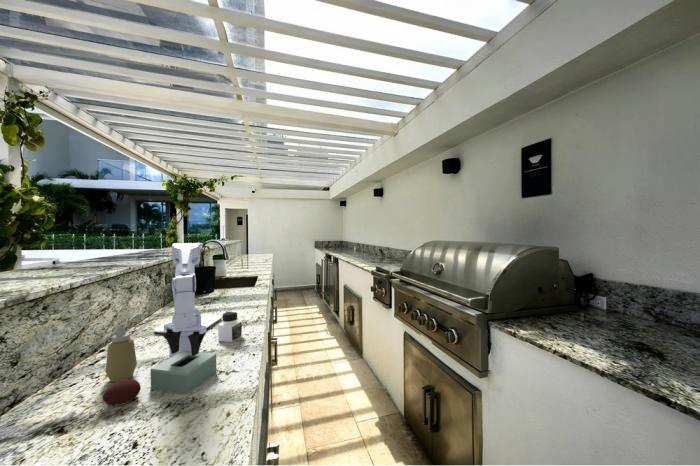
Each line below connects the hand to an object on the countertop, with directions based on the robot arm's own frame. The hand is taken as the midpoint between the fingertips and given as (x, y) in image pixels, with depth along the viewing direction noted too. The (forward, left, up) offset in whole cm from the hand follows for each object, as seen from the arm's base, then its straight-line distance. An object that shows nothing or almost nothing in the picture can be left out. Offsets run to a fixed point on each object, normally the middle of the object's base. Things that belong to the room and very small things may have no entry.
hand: (185, 353), depth 89 cm
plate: (-38, +44, -9) cm, 59 cm away
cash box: (0, 0, -9) cm, 9 cm away
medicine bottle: (-7, +33, -9) cm, 35 cm away
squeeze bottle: (-22, -3, -9) cm, 24 cm away
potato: (-9, -13, -9) cm, 18 cm away
